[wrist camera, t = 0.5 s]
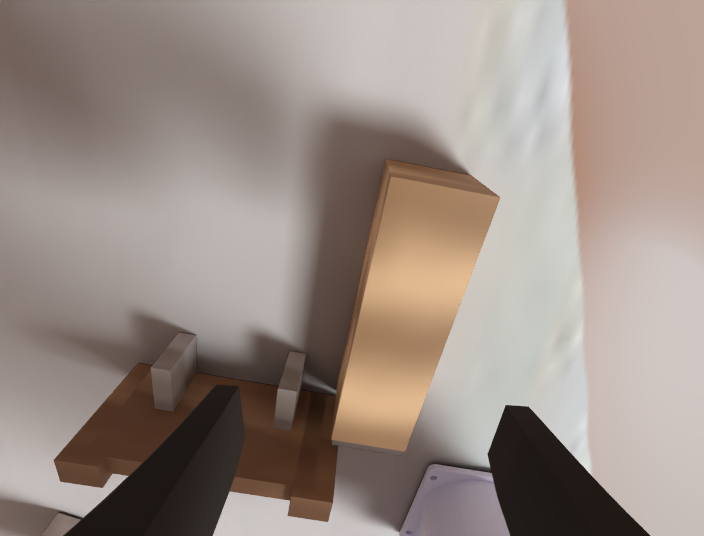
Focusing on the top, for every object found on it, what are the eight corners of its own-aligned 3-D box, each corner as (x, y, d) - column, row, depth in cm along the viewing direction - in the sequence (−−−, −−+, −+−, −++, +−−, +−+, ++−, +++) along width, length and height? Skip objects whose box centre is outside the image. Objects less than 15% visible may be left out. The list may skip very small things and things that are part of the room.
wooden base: (338, 414, 23) (327, 521, 17) (140, 382, 23) (60, 481, 17) (350, 361, 21) (343, 462, 15) (133, 324, 21) (39, 414, 15)
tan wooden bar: (397, 399, 22) (402, 457, 19) (336, 389, 22) (329, 446, 19) (470, 175, 16) (500, 197, 12) (385, 158, 16) (391, 176, 12)
